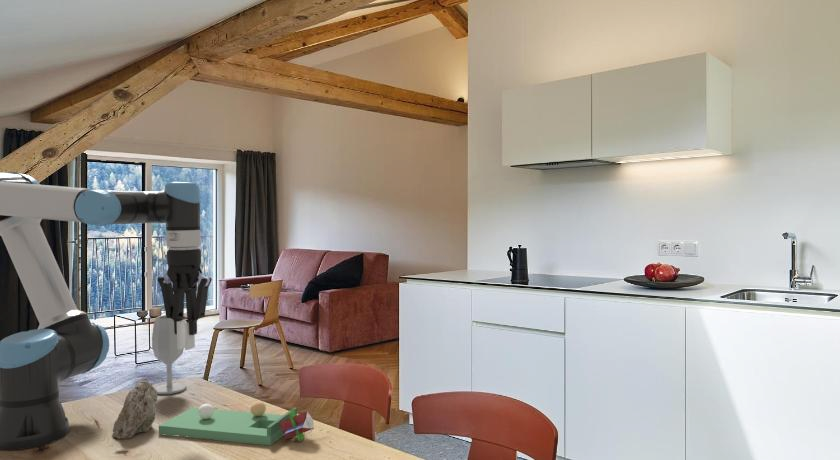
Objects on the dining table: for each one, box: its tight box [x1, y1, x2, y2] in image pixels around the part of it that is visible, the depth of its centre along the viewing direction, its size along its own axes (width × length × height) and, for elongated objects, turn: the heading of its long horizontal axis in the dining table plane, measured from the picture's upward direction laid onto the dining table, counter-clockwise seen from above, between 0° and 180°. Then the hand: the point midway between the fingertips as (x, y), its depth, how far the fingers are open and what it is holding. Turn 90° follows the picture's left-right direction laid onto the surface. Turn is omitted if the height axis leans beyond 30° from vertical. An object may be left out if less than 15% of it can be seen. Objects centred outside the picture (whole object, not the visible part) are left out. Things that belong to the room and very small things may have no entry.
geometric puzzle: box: [279, 407, 315, 444], centre depth 137 cm, size 7×7×8 cm
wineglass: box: [151, 314, 188, 395], centre depth 173 cm, size 9×9×21 cm
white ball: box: [198, 403, 215, 419], centre depth 145 cm, size 4×4×4 cm
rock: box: [112, 380, 158, 440], centre depth 143 cm, size 14×10×8 cm
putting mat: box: [158, 407, 298, 446], centre depth 143 cm, size 28×13×4 cm, turn 76°
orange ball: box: [250, 400, 267, 417], centre depth 146 cm, size 4×4×4 cm
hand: (186, 348), depth 145 cm, fingers closed
